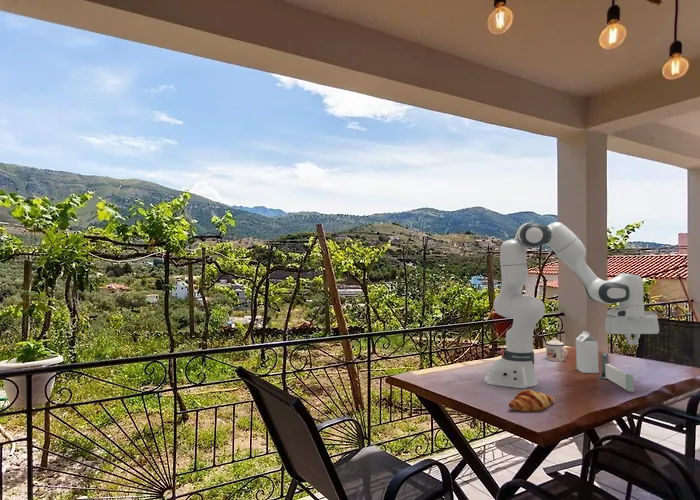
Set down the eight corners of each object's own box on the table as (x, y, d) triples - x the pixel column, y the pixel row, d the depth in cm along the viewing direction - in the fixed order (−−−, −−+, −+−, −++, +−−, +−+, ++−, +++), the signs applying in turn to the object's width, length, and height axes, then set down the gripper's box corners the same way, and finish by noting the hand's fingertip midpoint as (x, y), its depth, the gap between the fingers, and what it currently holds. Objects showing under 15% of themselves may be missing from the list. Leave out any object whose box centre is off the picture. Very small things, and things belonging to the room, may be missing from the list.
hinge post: (600, 379, 189) (599, 354, 189) (597, 376, 194) (596, 352, 194) (613, 380, 188) (612, 355, 188) (610, 377, 192) (609, 352, 193)
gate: (604, 377, 189) (604, 362, 189) (609, 377, 189) (609, 362, 189) (628, 391, 169) (627, 375, 169) (633, 391, 168) (633, 375, 169)
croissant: (547, 410, 162) (539, 389, 166) (567, 405, 154) (558, 383, 158) (504, 418, 154) (497, 395, 158) (523, 413, 146) (514, 389, 150)
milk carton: (591, 369, 206) (590, 330, 206) (598, 373, 199) (597, 333, 199) (576, 369, 207) (575, 330, 207) (583, 373, 200) (581, 333, 200)
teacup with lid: (542, 358, 230) (541, 337, 230) (554, 357, 233) (554, 336, 233) (560, 363, 219) (559, 341, 219) (573, 361, 222) (572, 339, 222)
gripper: (652, 310, 179) (653, 343, 179) (602, 310, 180) (603, 343, 180) (662, 312, 173) (663, 345, 172) (611, 312, 174) (612, 346, 173)
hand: (632, 344), depth 176 cm, fingers closed
